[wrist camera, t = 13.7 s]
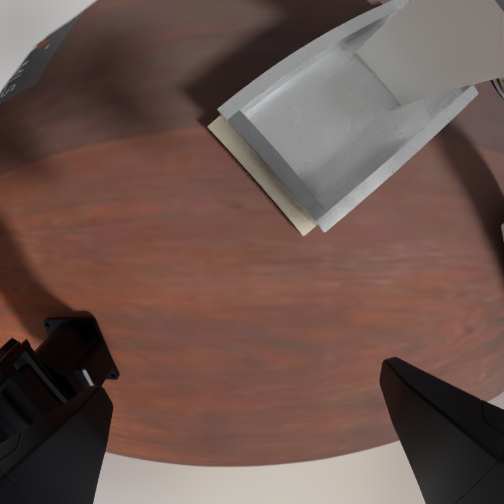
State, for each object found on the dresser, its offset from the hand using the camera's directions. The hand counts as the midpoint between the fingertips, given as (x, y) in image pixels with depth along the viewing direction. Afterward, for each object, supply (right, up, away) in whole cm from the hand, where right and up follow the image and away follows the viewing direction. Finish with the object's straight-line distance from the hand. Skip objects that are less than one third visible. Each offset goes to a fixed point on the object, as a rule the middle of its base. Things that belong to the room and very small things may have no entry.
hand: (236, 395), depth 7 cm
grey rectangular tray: (+8, +14, +8) cm, 18 cm away
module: (+10, +17, +6) cm, 21 cm away
